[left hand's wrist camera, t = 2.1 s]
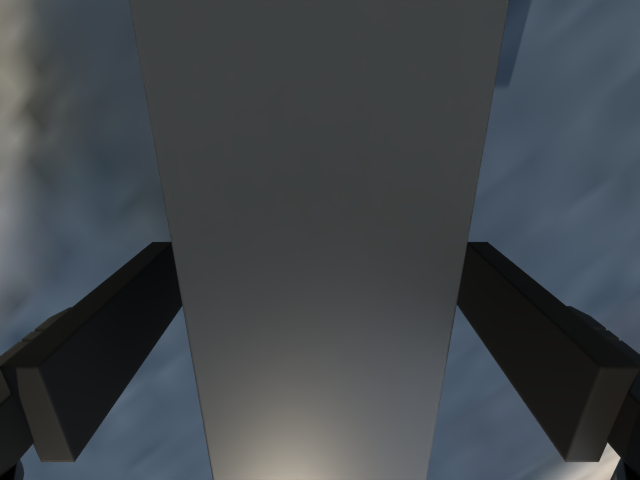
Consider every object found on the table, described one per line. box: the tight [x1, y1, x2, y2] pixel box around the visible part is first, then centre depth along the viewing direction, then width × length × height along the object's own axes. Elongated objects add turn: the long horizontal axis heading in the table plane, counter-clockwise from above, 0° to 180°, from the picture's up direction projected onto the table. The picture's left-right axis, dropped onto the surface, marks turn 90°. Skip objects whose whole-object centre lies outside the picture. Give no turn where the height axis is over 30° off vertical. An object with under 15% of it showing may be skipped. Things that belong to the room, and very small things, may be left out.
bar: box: [129, 0, 509, 480], centre depth 9 cm, size 21×5×8 cm, turn 0°
